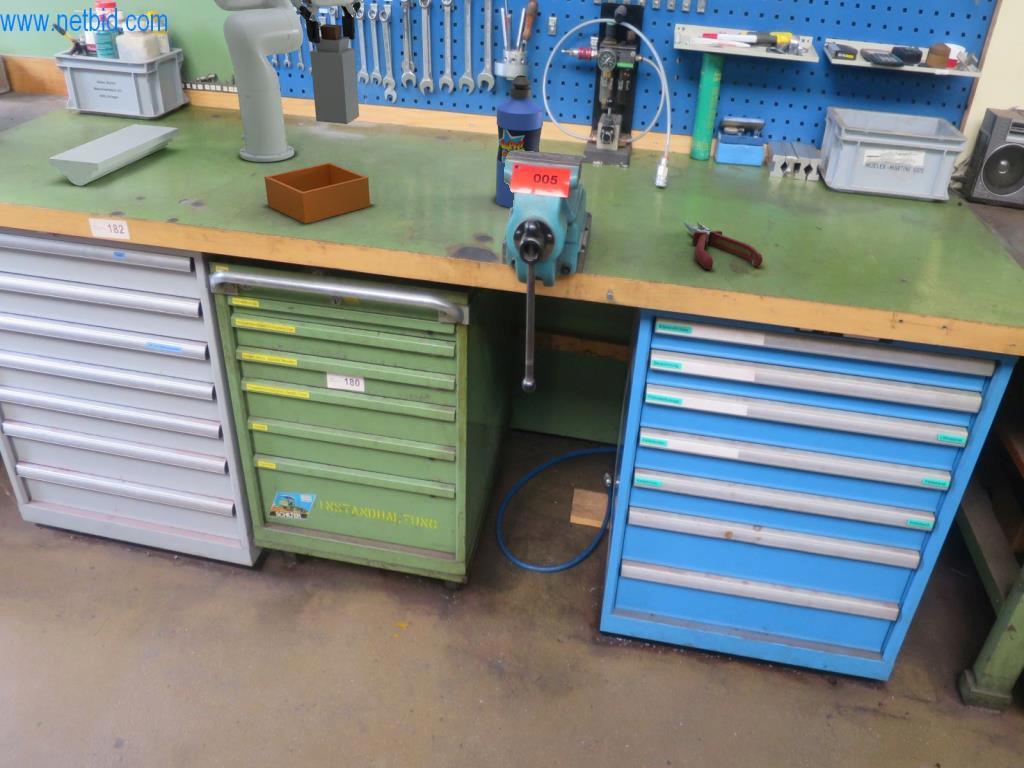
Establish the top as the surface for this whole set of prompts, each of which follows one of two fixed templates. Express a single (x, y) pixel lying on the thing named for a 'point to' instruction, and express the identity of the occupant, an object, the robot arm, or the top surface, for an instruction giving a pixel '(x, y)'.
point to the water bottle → (516, 131)
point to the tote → (317, 192)
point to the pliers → (720, 246)
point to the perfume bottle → (334, 77)
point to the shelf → (111, 152)
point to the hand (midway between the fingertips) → (331, 39)
